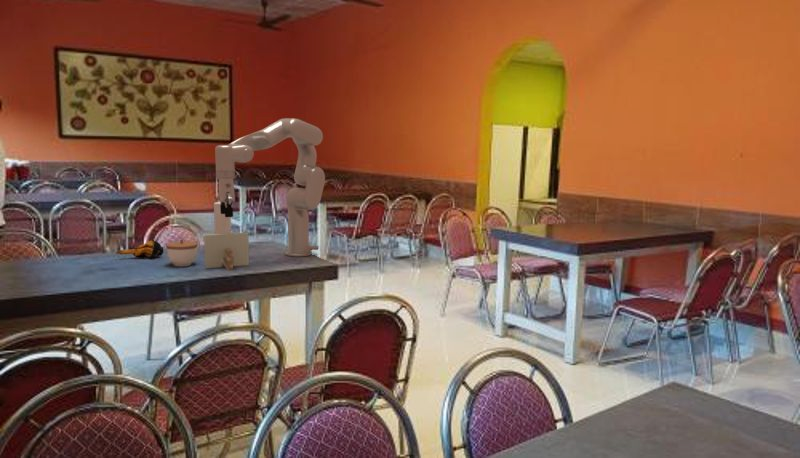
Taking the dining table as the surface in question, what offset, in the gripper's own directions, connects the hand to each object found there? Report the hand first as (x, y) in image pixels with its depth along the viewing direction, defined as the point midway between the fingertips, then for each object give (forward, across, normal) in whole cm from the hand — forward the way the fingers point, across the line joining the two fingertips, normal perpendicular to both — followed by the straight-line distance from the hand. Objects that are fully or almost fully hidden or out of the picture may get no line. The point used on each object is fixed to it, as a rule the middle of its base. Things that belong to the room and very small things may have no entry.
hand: (226, 215), depth 259 cm
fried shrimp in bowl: (+22, +29, +32) cm, 49 cm away
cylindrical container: (+22, +19, -1) cm, 29 cm away
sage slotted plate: (+22, 0, +1) cm, 22 cm away
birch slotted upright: (+22, 0, +1) cm, 22 cm away
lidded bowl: (+22, +9, +18) cm, 30 cm away
